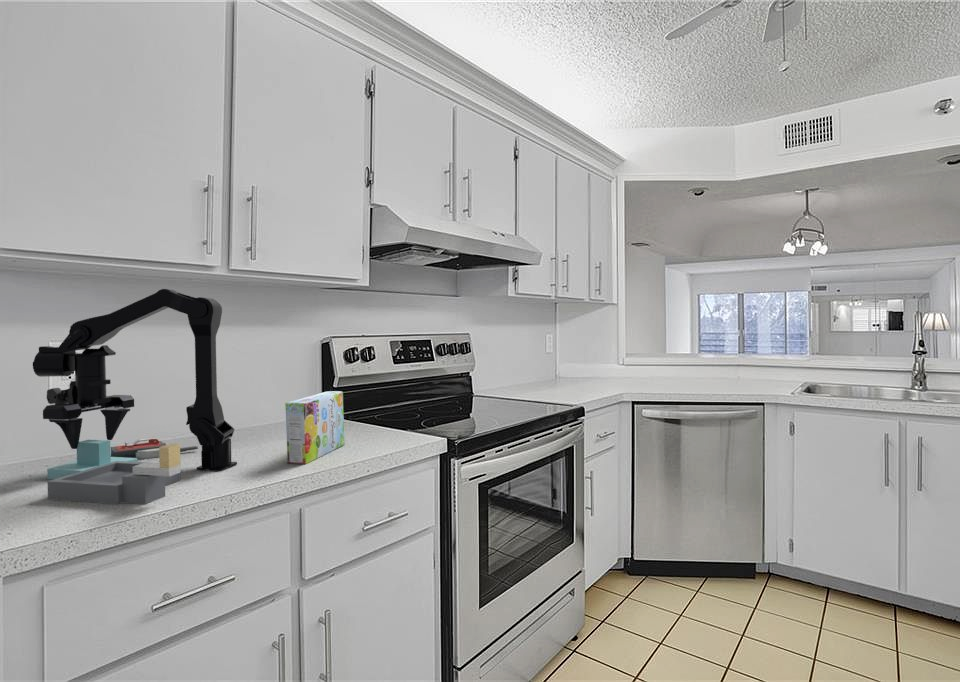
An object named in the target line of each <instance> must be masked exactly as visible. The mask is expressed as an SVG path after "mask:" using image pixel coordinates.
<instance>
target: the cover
mask: <svg viewBox="0 0 960 682" xmlns="http://www.w3.org/2000/svg"><path fill="white" fill-rule="evenodd" d="M114 461H128V462H139V459H138V458H125V457H111V440H105V439H103V440H101V439H100V440H99V439H86V440H82V441H81V440H79V443H78V447H77V449H76V460H75V461H71V462H67V463H63V464H61V465H60V464H59V465H57V466H52V467H48V468H46V474H47V475H46V477H47V479H50V480H53V479H57V478H60V477H64V476H67V475H70V474H74V473H77V472H80V471H84V470H87V469H90V468H94V467H97V466H101V465H104V464H107V463H111V462H114Z"/></svg>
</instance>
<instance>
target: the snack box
mask: <svg viewBox="0 0 960 682" xmlns="http://www.w3.org/2000/svg"><path fill="white" fill-rule="evenodd" d="M284 404H285V407H284V408H285V426H286V429H285V433H286V454H287V455H286V456H287V458H286V459H287V460H286V461H287V462H286V463H287V464H296V465H297V464H298V465H299V464H300V465H301V464H303V465H306V464H309V463H311V462H314V460H317V459H318V458H321V457H323V456H326V455H327V454H329V453H330V452H333V451H335V450H337V449H338V448H340V447H342V446H345V444H346V443H345V441H346V440H345V419H344V418H345V415H344V392H343V391H338V390H335V391H333V390H332V391H329V390H327V391H324V392H323V391H322V392H320V393H317V394H313V395H310V396H305V397H302V398H298V399H295V400H291V401H288V402H286V403H284Z"/></svg>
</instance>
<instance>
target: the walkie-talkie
mask: <svg viewBox="0 0 960 682" xmlns="http://www.w3.org/2000/svg"><path fill="white" fill-rule="evenodd" d="M146 441H147V442H146ZM140 442H141V443H140ZM165 445H167V444H166V442H163V441H161V440H159V439H158V438H157V437H148V438H139V439H137V440H135V441H134V442H133V443H129V441H125V442H124V444H123V445H115V446H114V445H113V446H110V454H111V457H125V458H138V460H140V459H141V460H142V459H143V460H145V459H154V458H159V447H161V446H165ZM198 449H199V446H197V445H195V446H187V447H180V453H183V452H187V451H196V450H198Z"/></svg>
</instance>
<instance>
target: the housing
mask: <svg viewBox="0 0 960 682" xmlns="http://www.w3.org/2000/svg"><path fill="white" fill-rule="evenodd" d="M142 463H148V462H146V461H145V462H144V461H138V462H128V461H114V462H111V463H107V464H104V465H101V466H97V467H94V468H90V469H87V470H84V471H80V472H77V473H74V474H70V475H67V476H64V477H60V478H57V479H50V480H47V500H54V501H55V500H56V501H67V502H68V501H69V502H81V503H83V502H84V503H96V504H97V503H98V504H107V505H108V504H109V505H110V504H111V505H112V504H113V505H120V504H123V503H124V504H138V505H139V504H140V505H147V504H149V503H152V502H155V501H157V500H159V499H161V498H163V497H166V487H167V486H168V485H172V484H174V483H177V482H179V481H181V480H180V479H181V478H180V476H181V474H180V473H181V472H180V473H177V474H175V475H172V476H169V477H168V476H151V475H134V474H133V468H132V467H133V466H136V465H139V464H142Z"/></svg>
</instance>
